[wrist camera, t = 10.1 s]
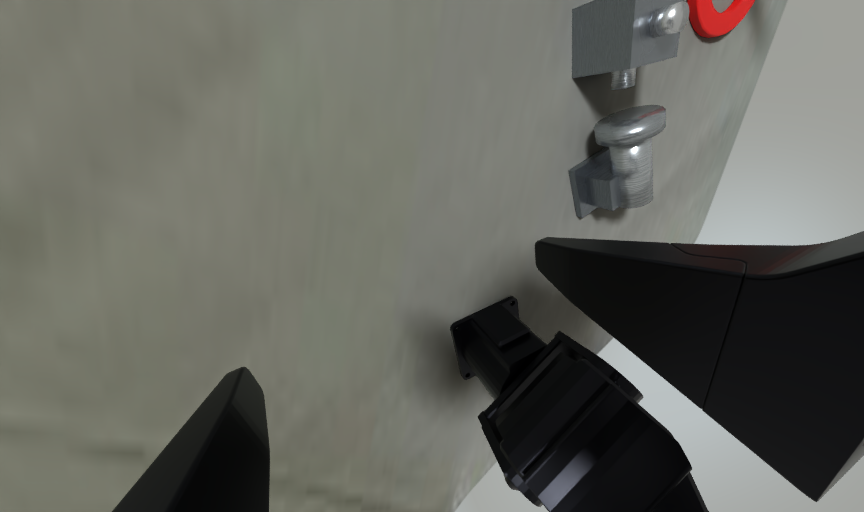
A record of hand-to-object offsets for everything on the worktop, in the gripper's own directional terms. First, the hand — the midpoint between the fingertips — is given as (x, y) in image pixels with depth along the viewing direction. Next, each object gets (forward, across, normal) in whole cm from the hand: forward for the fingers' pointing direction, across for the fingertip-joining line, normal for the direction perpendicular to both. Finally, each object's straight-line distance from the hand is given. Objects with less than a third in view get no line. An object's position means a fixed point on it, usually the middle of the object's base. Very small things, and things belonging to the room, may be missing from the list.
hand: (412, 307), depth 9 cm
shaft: (+12, -21, +2) cm, 24 cm away
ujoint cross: (+12, -20, -6) cm, 24 cm away
